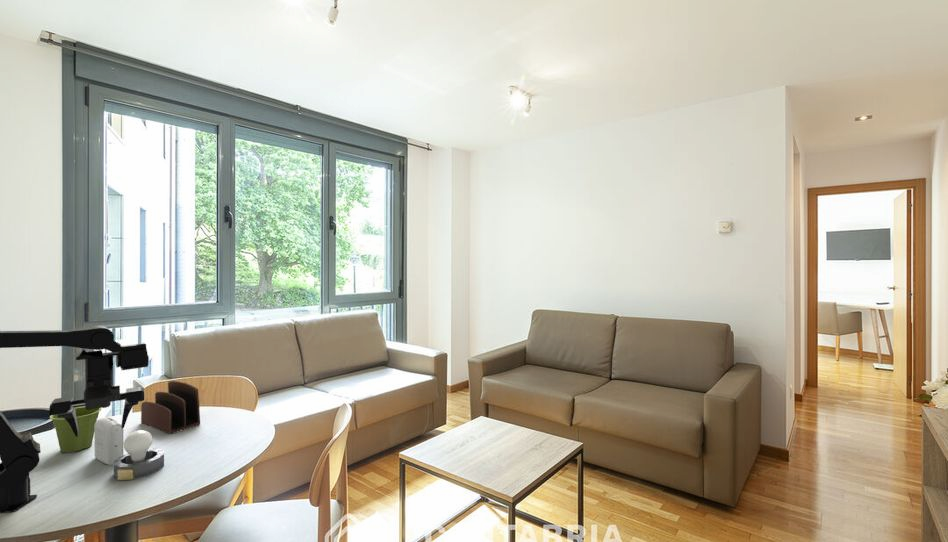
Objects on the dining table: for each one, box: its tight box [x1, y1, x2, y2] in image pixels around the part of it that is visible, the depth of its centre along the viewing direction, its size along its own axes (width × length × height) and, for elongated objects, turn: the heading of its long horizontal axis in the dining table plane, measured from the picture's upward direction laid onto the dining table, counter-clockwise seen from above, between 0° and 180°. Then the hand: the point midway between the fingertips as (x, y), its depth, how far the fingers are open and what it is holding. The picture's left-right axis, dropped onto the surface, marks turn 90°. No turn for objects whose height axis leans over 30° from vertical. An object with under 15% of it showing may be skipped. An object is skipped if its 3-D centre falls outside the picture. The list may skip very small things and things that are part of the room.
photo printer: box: [93, 416, 124, 466], centre depth 127 cm, size 10×4×12 cm, turn 60°
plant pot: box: [49, 406, 102, 453], centre depth 135 cm, size 12×12×11 cm
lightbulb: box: [123, 429, 153, 464], centre depth 121 cm, size 6×6×11 cm
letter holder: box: [140, 380, 201, 435], centre depth 155 cm, size 10×20×14 cm, turn 61°
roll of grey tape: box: [113, 448, 165, 481], centre depth 121 cm, size 12×11×4 cm
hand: (100, 432), depth 115 cm, fingers open, 9 cm apart
